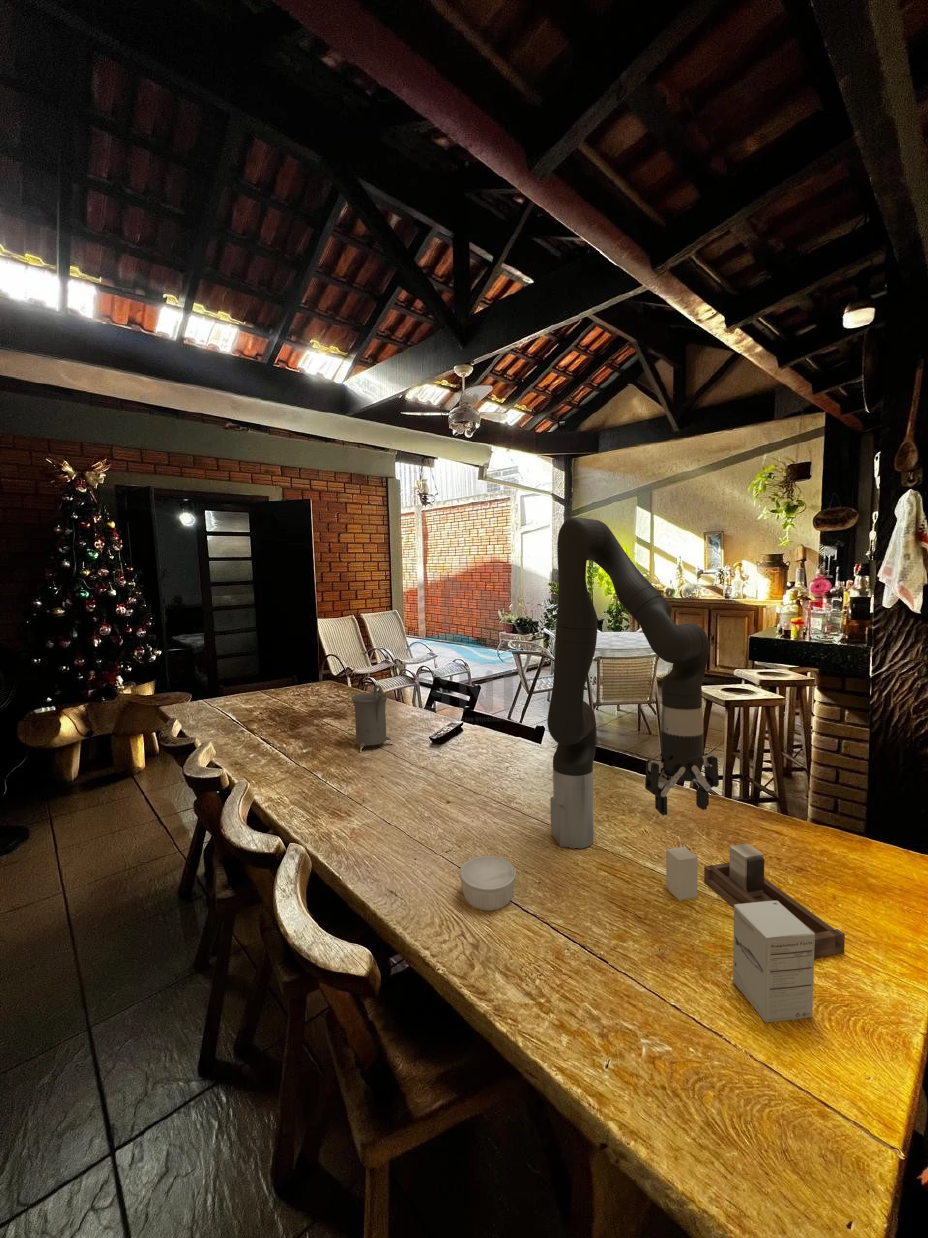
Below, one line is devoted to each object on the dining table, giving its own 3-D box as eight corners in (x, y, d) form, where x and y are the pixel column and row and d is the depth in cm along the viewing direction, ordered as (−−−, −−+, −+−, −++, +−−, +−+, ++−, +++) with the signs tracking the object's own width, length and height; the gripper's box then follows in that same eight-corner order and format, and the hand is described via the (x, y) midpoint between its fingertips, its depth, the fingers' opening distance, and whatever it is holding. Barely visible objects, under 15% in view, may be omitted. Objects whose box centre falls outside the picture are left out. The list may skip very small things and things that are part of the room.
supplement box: (730, 982, 75) (731, 902, 74) (776, 977, 76) (778, 898, 75) (764, 1025, 68) (765, 937, 67) (815, 1019, 68) (817, 932, 68)
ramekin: (500, 923, 90) (499, 895, 89) (449, 903, 96) (448, 877, 95) (526, 890, 99) (525, 864, 99) (478, 874, 105) (477, 850, 105)
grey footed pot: (344, 745, 193) (341, 682, 191) (378, 737, 202) (375, 676, 201) (366, 757, 178) (363, 689, 177) (401, 748, 188) (399, 683, 186)
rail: (797, 962, 79) (798, 907, 78) (704, 881, 100) (704, 837, 99) (844, 952, 80) (845, 898, 80) (742, 875, 102) (743, 832, 101)
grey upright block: (678, 900, 94) (678, 860, 94) (664, 886, 99) (664, 847, 98) (697, 897, 95) (697, 857, 95) (682, 883, 100) (682, 845, 99)
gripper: (659, 738, 90) (660, 824, 91) (728, 730, 92) (728, 815, 93) (637, 726, 97) (638, 807, 98) (701, 720, 100) (701, 798, 101)
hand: (682, 810), depth 96 cm, fingers open, 8 cm apart
